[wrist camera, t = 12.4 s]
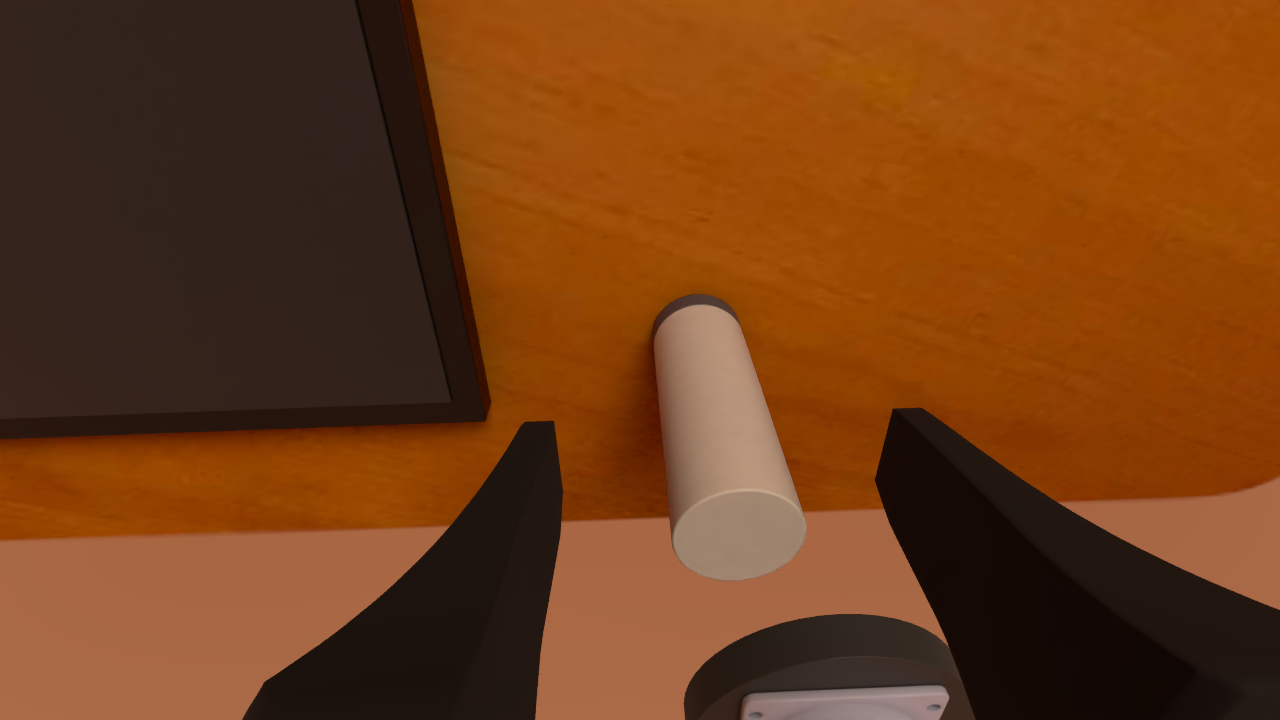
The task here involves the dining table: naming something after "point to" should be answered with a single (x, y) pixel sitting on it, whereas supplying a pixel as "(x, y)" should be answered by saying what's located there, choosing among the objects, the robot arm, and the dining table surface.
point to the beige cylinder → (720, 448)
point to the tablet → (225, 221)
